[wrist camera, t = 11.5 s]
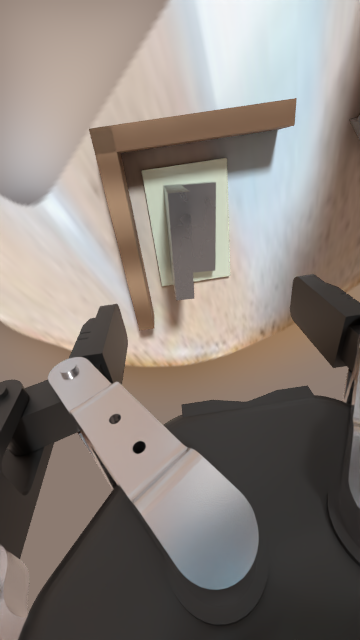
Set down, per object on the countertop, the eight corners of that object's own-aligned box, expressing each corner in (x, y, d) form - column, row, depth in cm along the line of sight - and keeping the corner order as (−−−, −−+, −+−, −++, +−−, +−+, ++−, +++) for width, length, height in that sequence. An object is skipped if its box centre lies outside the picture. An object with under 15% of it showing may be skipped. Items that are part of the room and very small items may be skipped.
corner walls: (96, 132, 21) (89, 128, 19) (279, 105, 22) (296, 98, 19) (140, 316, 31) (139, 330, 28) (268, 296, 31) (279, 308, 28)
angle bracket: (163, 185, 24) (167, 193, 18) (213, 181, 24) (234, 187, 18) (170, 270, 28) (176, 300, 22) (213, 266, 28) (229, 294, 22)
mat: (141, 170, 23) (141, 170, 23) (225, 157, 23) (226, 157, 23) (161, 284, 29) (162, 286, 28) (229, 274, 29) (230, 275, 29)
